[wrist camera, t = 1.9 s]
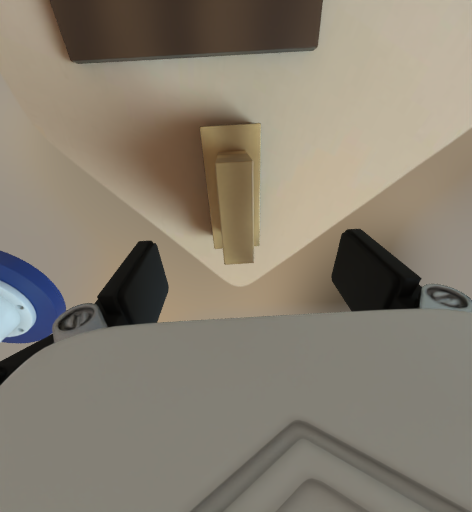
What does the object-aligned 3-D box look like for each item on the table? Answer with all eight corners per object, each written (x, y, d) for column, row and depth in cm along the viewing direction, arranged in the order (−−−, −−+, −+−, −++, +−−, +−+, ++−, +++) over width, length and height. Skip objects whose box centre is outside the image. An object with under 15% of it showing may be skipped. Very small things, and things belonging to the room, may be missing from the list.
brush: (215, 236, 27) (211, 284, 19) (202, 126, 21) (188, 128, 13) (256, 233, 27) (269, 280, 19) (256, 123, 21) (275, 122, 13)
